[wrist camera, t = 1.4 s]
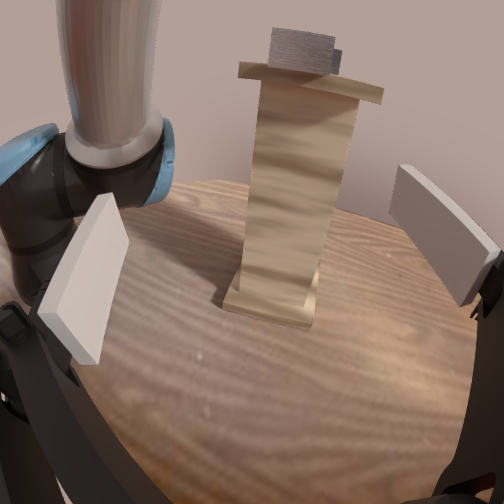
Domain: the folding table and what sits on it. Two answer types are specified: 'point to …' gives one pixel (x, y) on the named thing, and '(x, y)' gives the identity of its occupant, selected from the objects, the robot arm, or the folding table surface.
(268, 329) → the folding table surface
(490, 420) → the robot arm
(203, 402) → the folding table surface
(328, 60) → the grey long bar
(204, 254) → the folding table surface
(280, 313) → the pedestal
